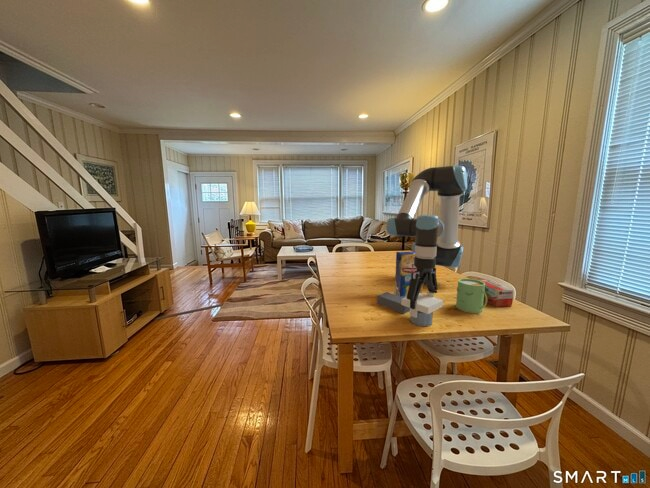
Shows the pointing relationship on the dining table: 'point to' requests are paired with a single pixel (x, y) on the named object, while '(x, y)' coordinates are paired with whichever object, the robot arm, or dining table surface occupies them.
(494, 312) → the dining table surface
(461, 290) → the mug
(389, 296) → the blue-grey rectangular block
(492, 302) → the medicine box
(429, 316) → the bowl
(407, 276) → the blue cereal box
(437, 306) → the tile
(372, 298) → the dining table surface
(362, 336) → the dining table surface
